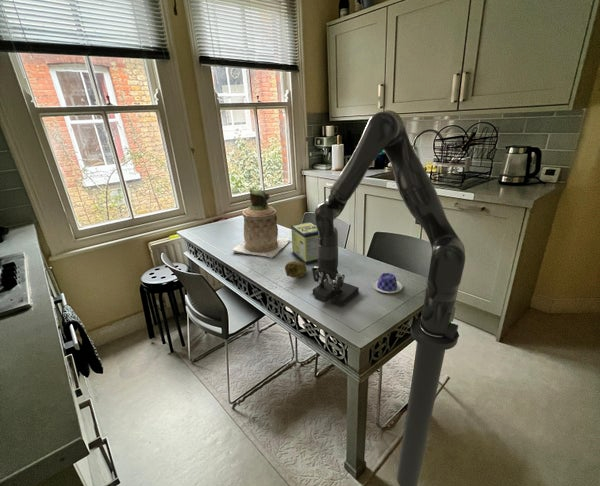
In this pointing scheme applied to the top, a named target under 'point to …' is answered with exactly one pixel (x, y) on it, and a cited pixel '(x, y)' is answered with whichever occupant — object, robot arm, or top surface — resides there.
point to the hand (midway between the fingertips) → (327, 294)
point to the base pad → (342, 293)
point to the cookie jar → (260, 228)
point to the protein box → (305, 242)
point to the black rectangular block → (324, 293)
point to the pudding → (387, 283)
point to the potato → (295, 269)
